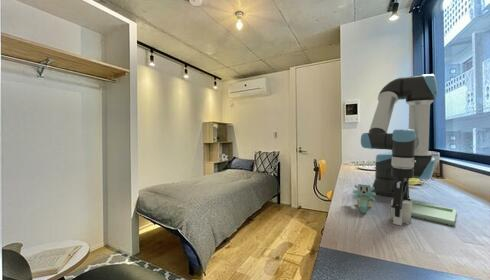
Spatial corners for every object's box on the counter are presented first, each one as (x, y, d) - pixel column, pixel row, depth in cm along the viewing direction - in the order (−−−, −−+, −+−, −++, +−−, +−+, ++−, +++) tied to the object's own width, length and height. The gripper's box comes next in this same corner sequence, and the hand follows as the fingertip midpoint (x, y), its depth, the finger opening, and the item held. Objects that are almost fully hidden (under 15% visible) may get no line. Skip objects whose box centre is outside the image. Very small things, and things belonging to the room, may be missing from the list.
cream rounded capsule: (388, 220, 93) (389, 201, 92) (392, 215, 98) (393, 197, 97) (409, 225, 88) (410, 205, 87) (412, 220, 93) (413, 201, 92)
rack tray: (393, 212, 101) (393, 208, 101) (401, 203, 113) (401, 199, 113) (454, 226, 87) (454, 221, 86) (456, 213, 98) (456, 209, 98)
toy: (356, 212, 99) (349, 179, 105) (357, 216, 110) (350, 185, 116) (383, 211, 95) (374, 176, 101) (380, 215, 106) (372, 183, 112)
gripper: (408, 173, 80) (406, 232, 82) (418, 164, 97) (416, 214, 98) (384, 170, 86) (382, 226, 87) (398, 162, 102) (396, 209, 103)
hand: (400, 219), depth 93 cm, fingers open, 11 cm apart
